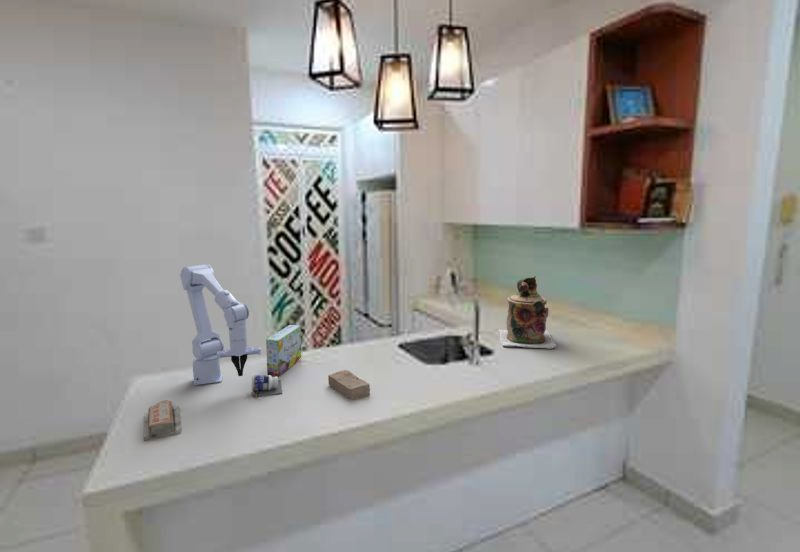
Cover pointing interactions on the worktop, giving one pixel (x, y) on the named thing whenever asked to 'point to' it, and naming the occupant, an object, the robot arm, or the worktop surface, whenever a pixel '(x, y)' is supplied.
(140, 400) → the worktop surface
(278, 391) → the rubber mat
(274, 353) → the snack box
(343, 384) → the brick
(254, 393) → the walnut strip
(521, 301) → the cookie jar
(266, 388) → the pill bottle
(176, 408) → the packaged product
